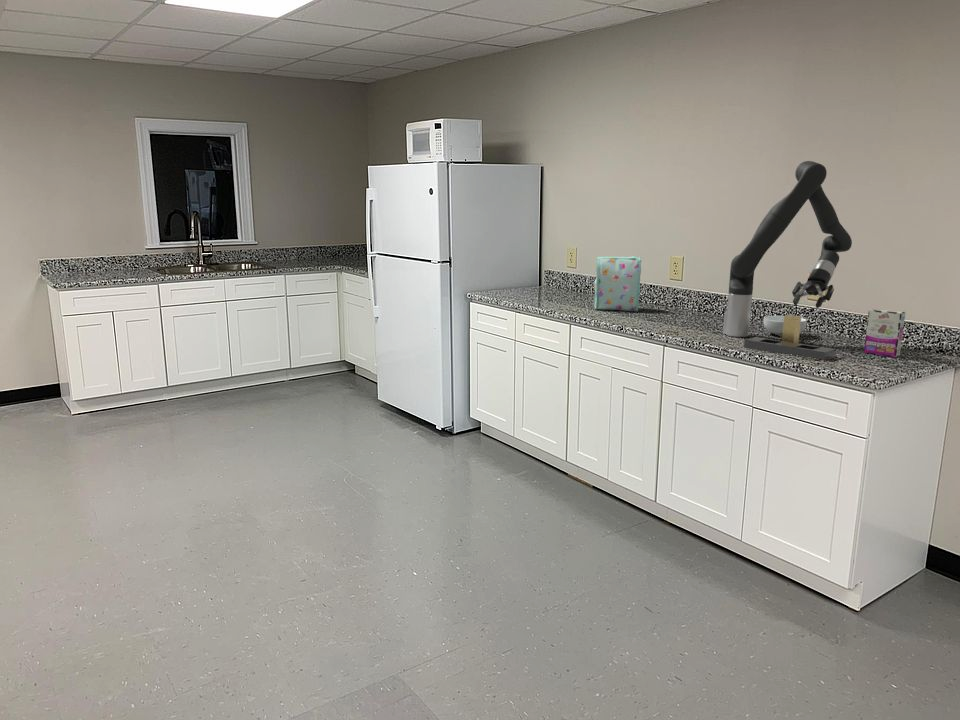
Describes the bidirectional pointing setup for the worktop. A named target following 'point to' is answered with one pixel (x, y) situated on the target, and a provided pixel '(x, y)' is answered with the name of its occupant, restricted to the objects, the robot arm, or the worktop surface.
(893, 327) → the candy bar box
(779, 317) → the cereal bowl
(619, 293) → the lunch bag
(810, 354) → the grey peg board
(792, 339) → the brass peg
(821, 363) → the worktop surface
